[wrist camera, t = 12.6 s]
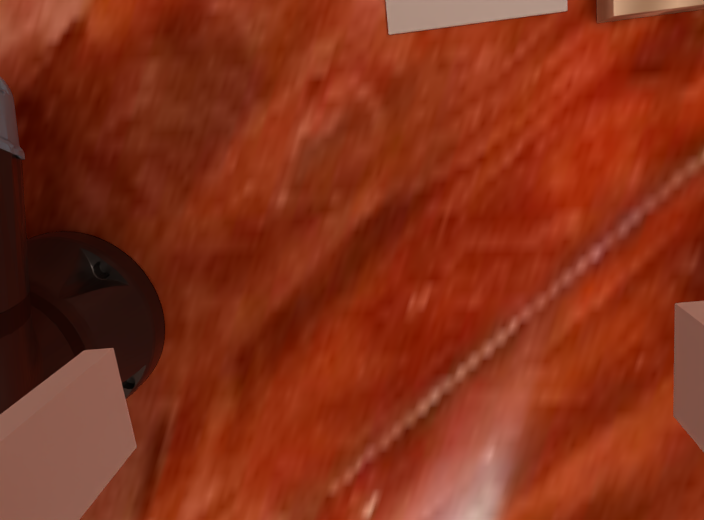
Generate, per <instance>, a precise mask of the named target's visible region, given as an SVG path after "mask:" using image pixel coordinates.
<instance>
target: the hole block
mask: <svg viewBox="0 0 704 520" xmlns="http://www.w3.org/2000/svg"><path fill="white" fill-rule="evenodd" d="M702 9H704V0H597V23H602V22H610V21H618V20H625V19H633V18H641V17H648V16H656V15H664V14H672V13H679V12H687V11H695V10H702Z"/></svg>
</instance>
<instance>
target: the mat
mask: <svg viewBox="0 0 704 520" xmlns="http://www.w3.org/2000/svg"><path fill="white" fill-rule="evenodd" d="M386 11H387V21H388V32H389V35H394V34H401V33H409V32H416V31H424V30H431V29H439V28H446V27H454V26H461V25H469V24H476V23H484V22H491V21H499V20H506V19H514V18H521V17H529V16H536V15H544V14H551V13H559V12H566V11H567V0H386Z"/></svg>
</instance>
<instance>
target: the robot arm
mask: <svg viewBox="0 0 704 520" xmlns="http://www.w3.org/2000/svg"><path fill="white" fill-rule="evenodd" d="M22 160H25V154H24V151H23V150H22V148H20V145H19V137H18V129H17V121H16V113H15V105H14V99H13V95H12V92H11V90H10V88H9V86H8V85H7V83H6V82H5V81H4V80H3V79H2V78H1V77H0V520H79V519H80V518H81V517H82V516H83V514H84V513H85V512H86V511H87V509H88V508H89V507H90V505H91V504H92V503H93V502H94V500H95V499H96V498H97V497H98V495H99V494H100V493H101V492H102V490H103V489H104V488H105V486H106V485H107V484H108V483H109V481H110V480H111V479H112V478H113V476H114V475H115V474H116V473H117V471H118V470H119V469H120V468H121V466H122V465H123V464H124V462H125V461H126V460H127V459H128V457H129V456H130V455H131V454H132V452H133V451H134V450H135V449H136V447H137V446H136V441H135V437H134V433H133V429H132V424H131V420H130V416H129V412H128V408H127V403H126V398H128V397H129V396H130V395H131V394H132V393H133V392H135V391H136V389H137V388H138V387H139V386H140V385H141V384H142V383H143V382H144V381H145V380H146V379H147V378H148V377H149V375H150V374H151V373H152V371H153V370H154V368H155V367H156V365H157V363H158V360H159V358H160V355H161V352H162V348H163V343H164V334H165V326H164V317H163V312H162V308H161V304H160V301H159V299H158V296H157V294H156V292H155V290H154V288H153V286H152V284H151V282H150V281H149V279H148V278H147V276H146V275H145V274H144V272H143V271H142V270H141V269H140V267H139V266H138V265H137V264H136V263H135V262H134V261H133V260H132V259H131V258H130V257H128V256H127V255H126V254H125V253H124V252H122V251H121V250H119V249H118V248H116V247H115V246H113V245H111V244H110V243H108V242H106V241H104V240H101V239H99V238H96V237H94V236H90V235H87V234H83V233H77V232H65V231H61V232H51V233H46V234H42V235H38V236H35V237H33V238H30V239H27V237H26V220H25V204H24V187H23V170H22ZM673 416H674V417H675V418H676V419H677V421H678V422H679V423H680V424H681V425H682V427H683V428H684V429H685V430H686V431H687V433H688V434H689V435H690V436H691V437H692V439H693V440H694V441H695V442H696V443H697V445H698V446H699V447H700V448H701V449H702V451H703V452H704V301H696V302H683V303H675V340H674V415H673Z"/></svg>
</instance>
